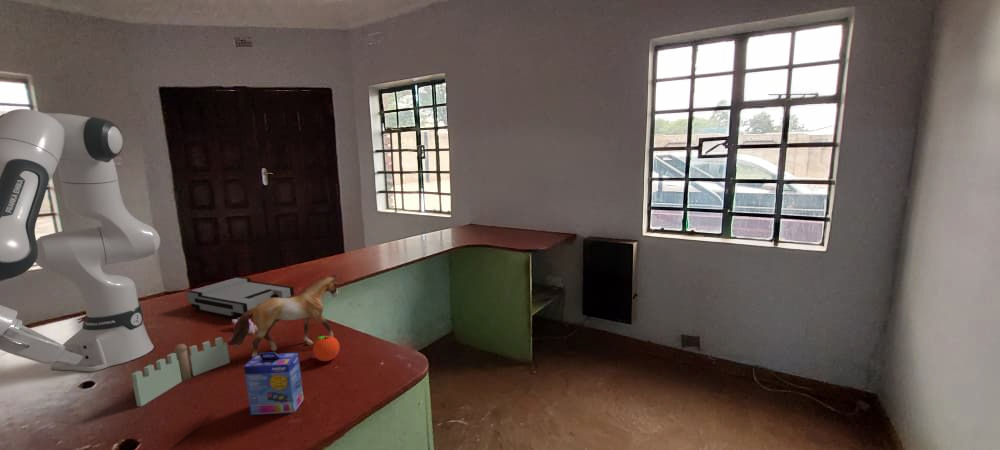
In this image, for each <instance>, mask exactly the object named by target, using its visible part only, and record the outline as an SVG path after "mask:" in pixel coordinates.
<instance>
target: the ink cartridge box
mask: <svg viewBox="0 0 1000 450" xmlns="http://www.w3.org/2000/svg"><path fill="white" fill-rule="evenodd" d="M243 370H244V376H245V377H244V378H245V383H246V385H245V386H246V391H247V398H248V403H249V411H250V416H256V415H257V416H258V415H271V414H272V415H275V414H276V415H277V414H290V413H291V414H294V413H295V412H296V411H297V409H298V408H299V407H300V406H301V404H302V402H304V400H305V397H304V391H303V390H304V389H303V383H302V375H301V374H302V373H301V366H300V359H299V353H298V352H290V353H289V352H287V353H277V352H276V351H272V352H258V354H257V355H255V356H254V357H252V358H251V359H250V360H249V361H248V362H247V363H245V365H244V366H243Z"/></svg>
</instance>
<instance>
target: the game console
mask: <svg viewBox="0 0 1000 450" xmlns="http://www.w3.org/2000/svg"><path fill="white" fill-rule="evenodd" d="M251 279H252V278H251V277H245V276H237V277H233V278H231V279H227V280H223V281H220V282H216V283H213V284H209V285H205V286H202V287H199V288H195V289H192V290H188V291H186V294H187V295H186V296H187V297H186V298H187V303H188V304H191V308H194V309H195V312H197V313H203V314H207V313H208V314H209V315H213V316H218V317H221V316H222V317H223V318H226V319H231V320H233V319H237V318H239V317H240V316H242V315H243V314H244V313H245V312H246V311H248V310H250V309H251V308H254V307H256V306H258V305H259V304H261V303H262V302H264V301H265V300H267V299H270V298H291V297H294V296H295V291H294V290H295V289H294V287H293V286H289V285H282V284H275V283H270V282H269V283H268V282H262V281H261V282H260V281H256V280H255V281H254V280H251ZM237 320H238V319H237Z"/></svg>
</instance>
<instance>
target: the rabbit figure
mask: <svg viewBox="0 0 1000 450" xmlns="http://www.w3.org/2000/svg"><path fill="white" fill-rule="evenodd" d="M239 318H240V317H239ZM239 318H237V319H239ZM237 319H231V322H232V323H233V324H234V325H235V324H236V322H237V321H238V320H237ZM255 334H258V328H257V327H256V325H255V322H252V320H251V318H250V319H249V330H248V334H247V335H253V336H256V335H255Z"/></svg>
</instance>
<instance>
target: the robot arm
mask: <svg viewBox="0 0 1000 450" xmlns="http://www.w3.org/2000/svg"><path fill="white" fill-rule="evenodd" d="M123 146H124V139H123V134H122V131H121V129H120V128H119V127H118V126H117V125H116V124H115V123H114V122H113V121H111V120H108V119H104V118H100V117H98V116H97V117H96V116H92V117H90V116H89V117H88V116H85V115H84V116H82V115H76V114H69V113H60V112H57V113H51V112H50V113H48V112H47V113H46V112H42V111H39V110H35V109H29V108H17V109H13V110H10V111H8V112H5V113H3V114H1V115H0V282H3V281H7V280H9V279H13V278H16V277H18V276H21V275H23V274H25V273H26V272H27V271H29V270H30V269H31V268H32V267H33V266H34V264H36V265H37V266H39V268H41V269H43V270H45V271H48V272H51V273H55V274H57V275H60V276H62V277H64V278H65V279H67V280H69V281H70V282H71V283H73V285H74V286H75V287H76V288H77V290H78V291H79V293H80V296H81V297H82V298H81V299H82V301H83V305H84V310H85V312H86V315H84V316H82V317H80V318H78V319H76V320H77V324H81V323H82V322H83V323H82V326H81V329H80V330H78V331H77V332H76V333H74V334H73V335H72V336H71V337H70V338H69V339H67V340H66V341H64V343H63V344H62V343H59V342H57V341H55V340H54V339H52V338H50V337H47V336H45V335H44V334H41V333H40V332H38V331H35V330H34V329H31V328H29V327H27V326H25V325H23V320H22V319H19V318H17V316H18V313H19V312H18V311H17V310H15V309H13V308H10V307H7V306H5V305H1V304H0V351H2V352H5V353H7V354H11V355H14V356H17V357H21V358H24V359H28V360H30V361H34V362H37V363H41V364H43V365H44V364H46V365H50V369H51V370H59V371H60V370H61V371H62V370H63V371H76V372H97V371H99V370H103V369H105V368H109V367H112V366H115V365H121V364H124V363H127V362H131V361H132V360H136V359H139V358H140V357H142V356H146V355H147V354H149V353H150V352H151V351H152V350H153V349H154V347H155V346H154V345H153V342H152V341H151V339H150V337H149V335H148V332H147V329H146V327H145V324H144V322H143V317H144V314H143V308H142V305H141V304H140V303H139V298H138V293H137V287H136V284H135V282H134V281H133V280H132V279H131V278H130V277H128V276H124V275H120V274H119V275H118V274H113V273H108V272H106V271H105V272H104V270H103V269H102V268H103V267H104V266H107V265H114V264H119V263H125V262H131V261H137V260H141V259H144V258H148V257H149V256H152V255H153V256H154V254H156V253H157V252H158V250H159V248H160V245H161V237H160V235H159V233H158V231H157V230H156V229H155V228H154V227H152V226H151V225H149V224H147V223H145V222H142V221H140V220H138V219H137V217H134V216H133V215H132V214H131V213H130V212H129V211H128V209H127V207H126V206H125V204H124V201H123V197H122V193H121V189H120V183H119V177H118V172H117V167H116V163H115V161H114V159H115V158H116V157H118V156H119V155H120V154H121V152H122V150H123ZM57 168H58V174H59V175H58V176H59V180H60V181H59V182H60V187H61V191H62V196H63V203H64V206H65V208H66V209H67V210H68V211H69V212H71V213H72V214H75V215H77V216H79V217H84V218H89V219H91V220H96V221H99V222H100V223H101V225H99V226H97V227H90V228H89V227H88V228H79V229H69V230H68V229H67V230H63V231H62V230H61V231H57V232H53V233H52V232H51V233H49V234H45V235H42V236H39V238H36V231H35V229H36V225H37V222H38V221H37V220H38V218H39V214H40V211H41V208H42V205H43V202H44V199H45V195H46V192H47V190H48V185H49V183H50V182H51V180H52V177H53V176H54V174H55V172H56V169H57Z"/></svg>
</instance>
